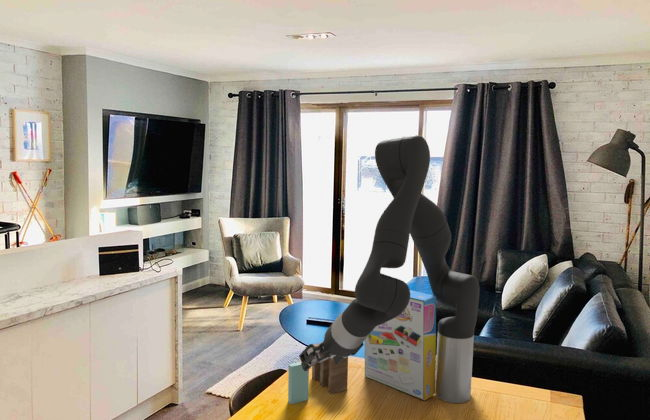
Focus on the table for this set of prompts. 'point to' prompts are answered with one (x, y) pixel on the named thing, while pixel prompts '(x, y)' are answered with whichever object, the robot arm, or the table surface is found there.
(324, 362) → the domino
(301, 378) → the teal domino
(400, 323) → the game box
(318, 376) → the domino
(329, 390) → the domino
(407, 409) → the table surface
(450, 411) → the table surface
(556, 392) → the table surface
